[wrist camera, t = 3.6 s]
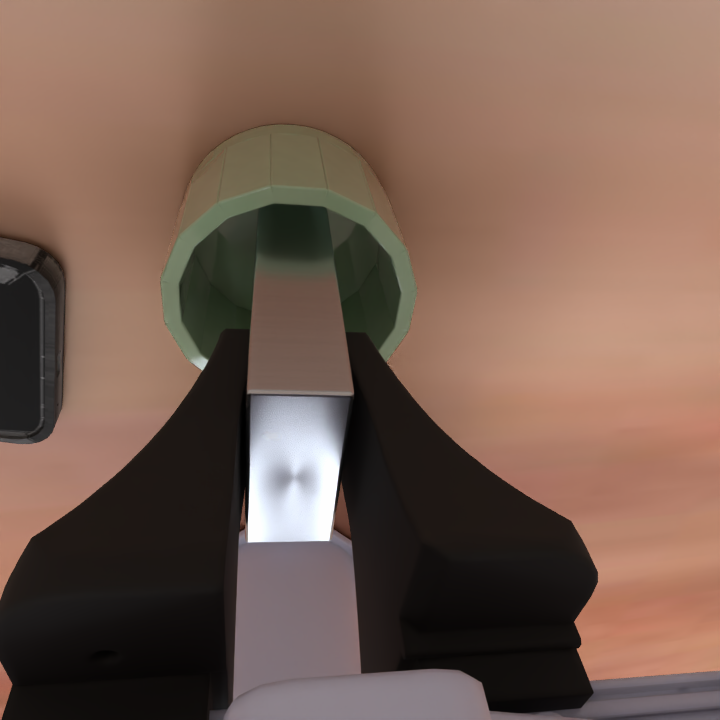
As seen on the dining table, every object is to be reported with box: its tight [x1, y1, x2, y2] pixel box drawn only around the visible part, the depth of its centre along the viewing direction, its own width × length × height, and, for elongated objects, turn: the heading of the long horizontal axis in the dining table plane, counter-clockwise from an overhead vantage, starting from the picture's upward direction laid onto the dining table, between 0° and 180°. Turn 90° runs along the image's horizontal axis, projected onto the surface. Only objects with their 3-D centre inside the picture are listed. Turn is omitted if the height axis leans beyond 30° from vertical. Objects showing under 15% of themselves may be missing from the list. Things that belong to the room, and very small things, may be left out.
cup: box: [160, 124, 417, 371], centre depth 17 cm, size 6×6×4 cm
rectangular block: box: [245, 203, 355, 543], centre depth 14 cm, size 2×4×8 cm, turn 173°
